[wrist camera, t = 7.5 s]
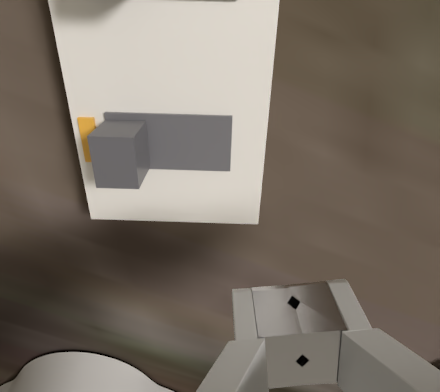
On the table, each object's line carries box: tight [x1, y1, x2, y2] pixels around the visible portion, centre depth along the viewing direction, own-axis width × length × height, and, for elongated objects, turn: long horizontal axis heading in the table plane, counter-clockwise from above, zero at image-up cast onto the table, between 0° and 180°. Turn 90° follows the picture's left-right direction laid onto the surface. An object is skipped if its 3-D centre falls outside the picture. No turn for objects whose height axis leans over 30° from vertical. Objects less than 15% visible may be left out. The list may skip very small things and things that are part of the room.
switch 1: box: [87, 120, 150, 189], centre depth 16 cm, size 2×2×2 cm
